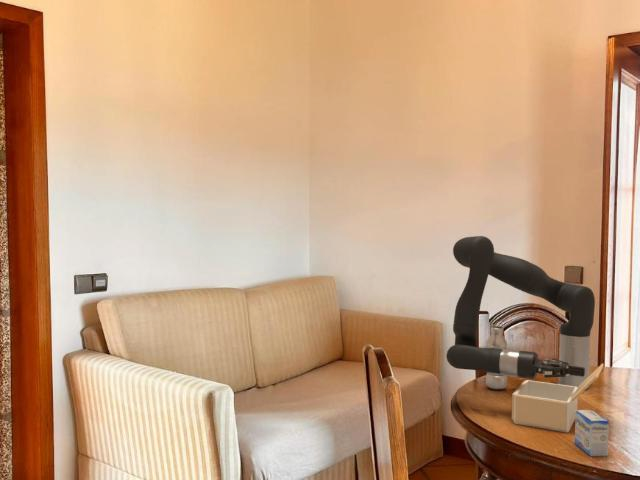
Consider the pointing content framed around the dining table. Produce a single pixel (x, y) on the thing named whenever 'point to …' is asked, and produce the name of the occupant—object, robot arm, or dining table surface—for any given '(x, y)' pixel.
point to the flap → (588, 382)
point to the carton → (544, 405)
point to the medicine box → (591, 433)
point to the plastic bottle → (498, 343)
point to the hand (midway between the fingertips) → (584, 372)
